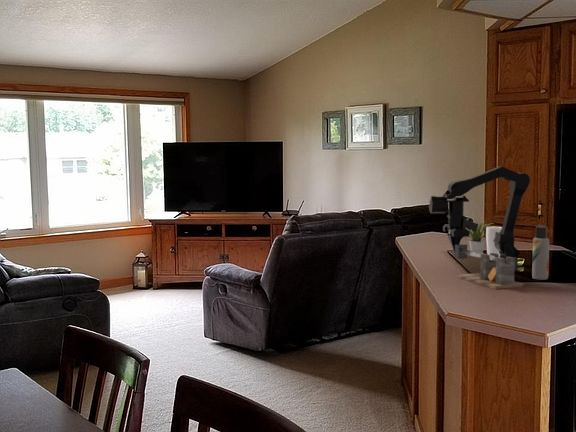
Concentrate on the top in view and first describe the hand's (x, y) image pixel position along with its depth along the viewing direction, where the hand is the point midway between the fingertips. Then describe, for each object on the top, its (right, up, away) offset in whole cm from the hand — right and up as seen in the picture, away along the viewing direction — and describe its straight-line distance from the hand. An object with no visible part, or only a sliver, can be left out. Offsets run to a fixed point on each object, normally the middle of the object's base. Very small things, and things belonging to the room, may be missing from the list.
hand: (455, 251), depth 260 cm
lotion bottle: (+28, -9, -15) cm, 33 cm away
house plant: (+22, -4, +43) cm, 49 cm away
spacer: (+8, -8, -23) cm, 26 cm away
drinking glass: (+22, -6, +22) cm, 32 cm away
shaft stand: (+7, -10, -20) cm, 23 cm away
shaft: (+5, -3, -12) cm, 13 cm away
